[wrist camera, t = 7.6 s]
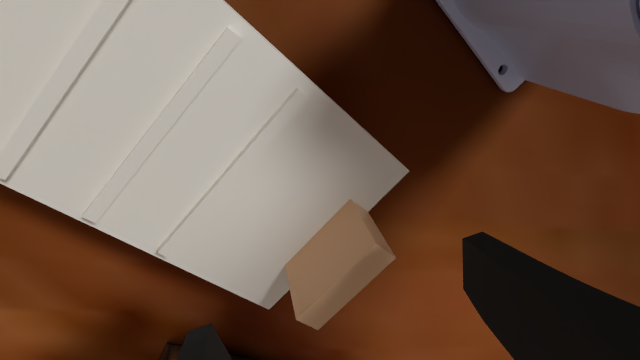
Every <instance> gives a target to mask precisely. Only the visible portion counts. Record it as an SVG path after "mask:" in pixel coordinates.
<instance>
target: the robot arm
mask: <svg viewBox="0 0 640 360" xmlns="http://www.w3.org/2000/svg"><path fill="white" fill-rule="evenodd" d="M436 2H437V3H438V5H439V6H440V7H441V9H442V10H443V11H444V13H445V14H446V15H447V17H448V18H449V20H450V21H451V22H452V24H453V25H454V26H455V28H456V29H457V30H458V32H459V33H460V35H461V36H462V37H463V39H464V40H465V41H466V43H467V44H468V45H469V47H470V48H471V50H472V51H473V52H474V54H475V55H476V56H477V58H478V59H479V60H480V62H481V63H482V65H483V66H484V67H485V69H486V70H487V71H488V73H489V74H490V76H491V77H492V78H493V80H494V81H495V82H496V84H497V85H498V86H499V88H500V89H501V90H502V91H505V92H512V91H514V90H515V89H516V88H517V87H518V86H519V85H520V84H522V83H523V82H524V81H525V80H527V81H530V82H533V83H536V84H539V85H542V86H546V87H549V88H552V89H555V90H558V91H561V92H564V93H568V94H571V95H574V96H577V97H580V98H583V99H586V100H590V101H593V102H596V103H599V104H602V105H605V106H609V107H612V108H615V109H618V110H621V111H626V112H631V113H639V114H640V0H436ZM501 65H502V66H503V67H502V70H501V72H499V73H498V69H499V68H500V66H501ZM462 241H463V288H464V290H465V292H466V294H467V295H468V297H469V299H470V300H471V302H472V304H473V305H474V307H475V308H476V310H477V311H478V313H479V314H480V316H481V318H482V319H483V321H484V322H485V323H486V325H487V326H488V327H489V328H490V330H491V331H492V332H493V333H494V335H495V336H496V337H497V339H498V340H499V341H500V342H501V344H502V345H503V346H504V347H505V349H506V350H507V351H508V352H509V354H510V355H511V356H512V357H513V358H514V360H640V307H638V306H636V305H633V304H631V303H629V302H626V301H624V300H621V299H619V298H617V297H614V296H612V295H610V294H608V293H605V292H603V291H601V290H599V289H596V288H594V287H592V286H589V285H587V284H585V283H583V282H581V281H579V280H577V279H574V278H572V277H570V276H568V275H566V274H564V273H562V272H560V271H558V270H556V269H554V268H552V267H550V266H548V265H546V264H544V263H542V262H540V261H538V260H536V259H534V258H532V257H530V256H528V255H526V254H524V253H522V252H520V251H518V250H517V249H515V248H513V247H511V246H509V245H507V244H505V243H503V242H501V241H499V240H497V239H496V238H494V237H492V236H490V235H488V234H486V233H484V232H480V233H477V234H474V235H471V236H468V237H465V238H462ZM176 360H232V358H231V357H230V355H229V353H228V351H227V350H226V348H225V346H224V344H223V343H222V341H221V339H220V337H219V336H218V334H217V332H216V330H215V329H214V327H213V325H212V323H211V324H208V325H205V326H202V327H199V328H197V329H194V330H191V331H189V332H188V333H187V335H186V337H185V340H184V342H183V345H182V347H181V349H180V352H179V354H178V357H177V359H176Z"/></svg>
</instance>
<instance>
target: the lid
mask: <svg viewBox="0 0 640 360" xmlns="http://www.w3.org/2000/svg"><path fill="white" fill-rule="evenodd" d="M408 172H409V170H408V169H407V168H406V167H405V166H404V165H403V164H402V163H401V162H400V161H399V160H397V159H396V158H395V157H394V156H393V155H392V154H391V153H390V152H389V151H388V150H387V149H385V148H384V147H383V146H382V145H381V144H380V143H379V142H378V141H377V140H376V139H375V138H373V137H372V136H371V135H370V134H369V133H368V132H367V131H366V130H365V129H364V128H363V127H361V126H360V125H359V124H358V123H357V122H356V121H355V120H354V119H353V118H352V117H351V116H349V115H348V114H347V113H346V112H345V111H344V110H343V109H342V108H341V107H340V106H339V105H337V104H336V103H335V102H334V101H333V100H332V99H331V98H330V97H329V96H328V95H327V94H325V93H324V92H323V91H322V90H321V89H320V88H319V87H318V86H317V85H316V84H315V83H313V82H312V81H311V80H310V79H309V78H308V77H307V76H306V75H305V74H304V73H303V72H302V71H300V70H299V69H298V68H297V67H296V66H295V65H294V64H293V63H292V62H291V61H290V60H288V59H287V58H286V57H285V56H284V55H283V54H282V53H281V52H280V51H279V50H278V49H276V48H275V47H274V46H273V45H272V44H271V43H270V42H269V41H268V40H267V39H266V38H264V37H263V36H262V35H261V34H260V33H259V32H258V31H257V30H256V29H255V28H254V27H252V26H251V25H250V24H249V23H248V22H247V21H246V20H245V19H244V18H243V17H242V16H240V15H239V14H238V13H237V12H236V11H235V10H234V9H233V8H232V7H231V6H230V5H228V4H227V3H226V2H225V1H224V0H0V184H2V185H4V186H7V187H9V188H11V189H13V190H15V191H17V192H19V193H22V194H24V195H26V196H28V197H30V198H32V199H34V200H36V201H39V202H41V203H43V204H45V205H47V206H49V207H51V208H53V209H56V210H58V211H60V212H62V213H64V214H66V215H68V216H70V217H73V218H75V219H77V220H79V221H81V222H83V223H85V224H87V225H90V226H92V227H94V228H96V229H98V230H100V231H102V232H104V233H107V234H109V235H111V236H113V237H115V238H117V239H119V240H122V241H124V242H126V243H128V244H130V245H132V246H134V247H136V248H139V249H141V250H143V251H145V252H147V253H149V254H151V255H153V256H156V257H158V258H160V259H162V260H164V261H166V262H168V263H170V264H173V265H175V266H177V267H179V268H181V269H183V270H185V271H187V272H190V273H192V274H194V275H196V276H198V277H200V278H202V279H205V280H207V281H209V282H211V283H213V284H215V285H217V286H219V287H222V288H224V289H226V290H228V291H230V292H232V293H234V294H236V295H239V296H241V297H243V298H245V299H247V300H249V301H251V302H253V303H256V304H258V305H260V306H262V307H264V308H266V309H268V310H269V309H270V308H271V307H272V306H273V305H274V304H275V303H276V302H277V301H278V300H279V299H280V298H281V297H282V296H283V295H284V294H286V293H287V292H288V291H289V290H290V293H291V298H292V303H293V308H294V312H295V317H296V320H297V321H300V322H302V323H304V324H306V325H308V326H310V327H312V328H314V329H316V330H319V329H320V328H321V327H322V326H323V325H324V324H325V323H326V322H327V321H328V320H330V319H331V318H332V317H333V316H334V315H335V314H336V313H337V312H338V311H339V310H340V309H341V308H342V307H344V306H345V305H346V304H347V303H348V302H349V301H350V300H351V299H352V298H353V297H354V296H355V295H356V294H358V293H359V292H360V291H361V290H362V289H363V288H364V287H365V286H366V285H367V284H368V283H369V282H371V281H372V280H373V279H374V278H375V277H376V276H377V275H378V274H379V273H380V272H381V271H382V270H383V269H385V268H386V267H387V266H388V265H389V264H390V263H391V262H392V261H393V260H394V259H395V258H396V257H395V255H394V254H393V252H392V250H391V249H390V247H389V245H388V244H387V242H386V241H385V239H384V237H383V236H382V234H381V232H380V231H379V229H378V228H377V226H376V224H375V223H374V221H373V219H372V218H371V216H370V215H369V213H368V212H369V211H370V210H371V209H372V208H373V207H374V206H375V205H376V204H377V203H378V202H379V201H380V200H381V199H382V198H383V197H384V196H385V195H386V194H387V193H388V192H389V191H390V190H391V189H392V188H393V187H394V186H395V185H396V184H397V183H398V182H399V181H400V180H401V179H402V178H403V177H404V176H405V175H406V174H407V173H408Z"/></svg>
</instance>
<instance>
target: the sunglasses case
mask: <svg viewBox="0 0 640 360" xmlns="http://www.w3.org/2000/svg"><path fill="white" fill-rule="evenodd" d="M181 347H182V346H178V345H172V344H171V343H169V342H168V345H167V348H166V349H165V351H164V353H163V355H162V357H161V359H160V360H176V359H177V357H178V354H179V352H180V349H181ZM230 357H231V358H232V360H253V359H248V358H241V357H236V356H230Z"/></svg>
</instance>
